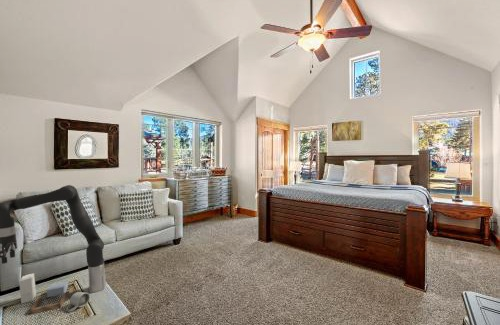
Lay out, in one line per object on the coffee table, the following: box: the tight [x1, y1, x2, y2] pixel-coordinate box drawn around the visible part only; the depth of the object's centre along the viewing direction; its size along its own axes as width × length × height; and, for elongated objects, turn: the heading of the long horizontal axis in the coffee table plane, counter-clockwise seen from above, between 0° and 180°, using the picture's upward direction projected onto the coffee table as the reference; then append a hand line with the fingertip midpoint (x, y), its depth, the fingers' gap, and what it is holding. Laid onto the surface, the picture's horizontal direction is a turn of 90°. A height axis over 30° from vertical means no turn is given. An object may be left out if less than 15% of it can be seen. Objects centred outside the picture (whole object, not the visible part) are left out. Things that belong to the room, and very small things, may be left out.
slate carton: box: [46, 280, 69, 298], centre depth 157 cm, size 9×8×5 cm
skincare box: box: [18, 272, 37, 304], centre depth 150 cm, size 8×6×15 cm
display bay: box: [28, 291, 69, 315], centre depth 144 cm, size 15×13×2 cm
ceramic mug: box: [66, 291, 90, 313], centre depth 142 cm, size 11×8×8 cm
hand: (8, 260), depth 142 cm, fingers open, 8 cm apart
